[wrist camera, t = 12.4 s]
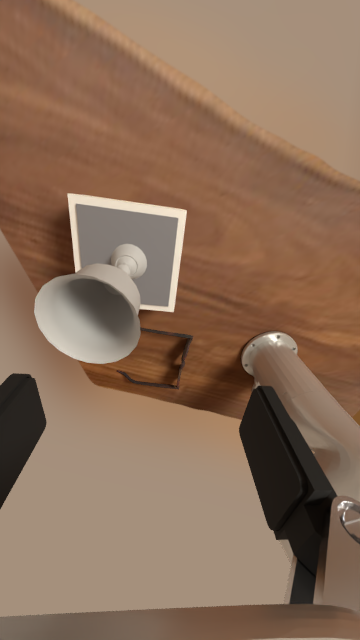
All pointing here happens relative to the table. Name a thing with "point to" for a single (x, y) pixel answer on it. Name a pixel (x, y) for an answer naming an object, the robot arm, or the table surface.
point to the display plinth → (131, 241)
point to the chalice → (94, 308)
